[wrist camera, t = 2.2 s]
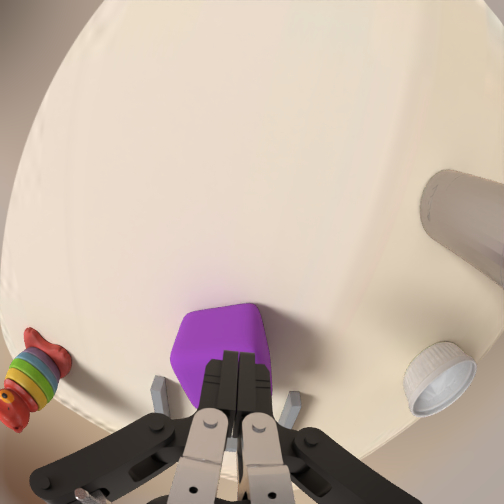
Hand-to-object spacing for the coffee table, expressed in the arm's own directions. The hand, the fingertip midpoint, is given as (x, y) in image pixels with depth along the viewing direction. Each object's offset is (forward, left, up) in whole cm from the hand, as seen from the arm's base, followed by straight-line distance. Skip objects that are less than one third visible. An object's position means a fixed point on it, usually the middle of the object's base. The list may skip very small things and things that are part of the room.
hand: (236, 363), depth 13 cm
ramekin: (-34, +18, -19) cm, 43 cm away
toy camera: (0, +14, -18) cm, 23 cm away
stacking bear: (+33, +26, -18) cm, 46 cm away
